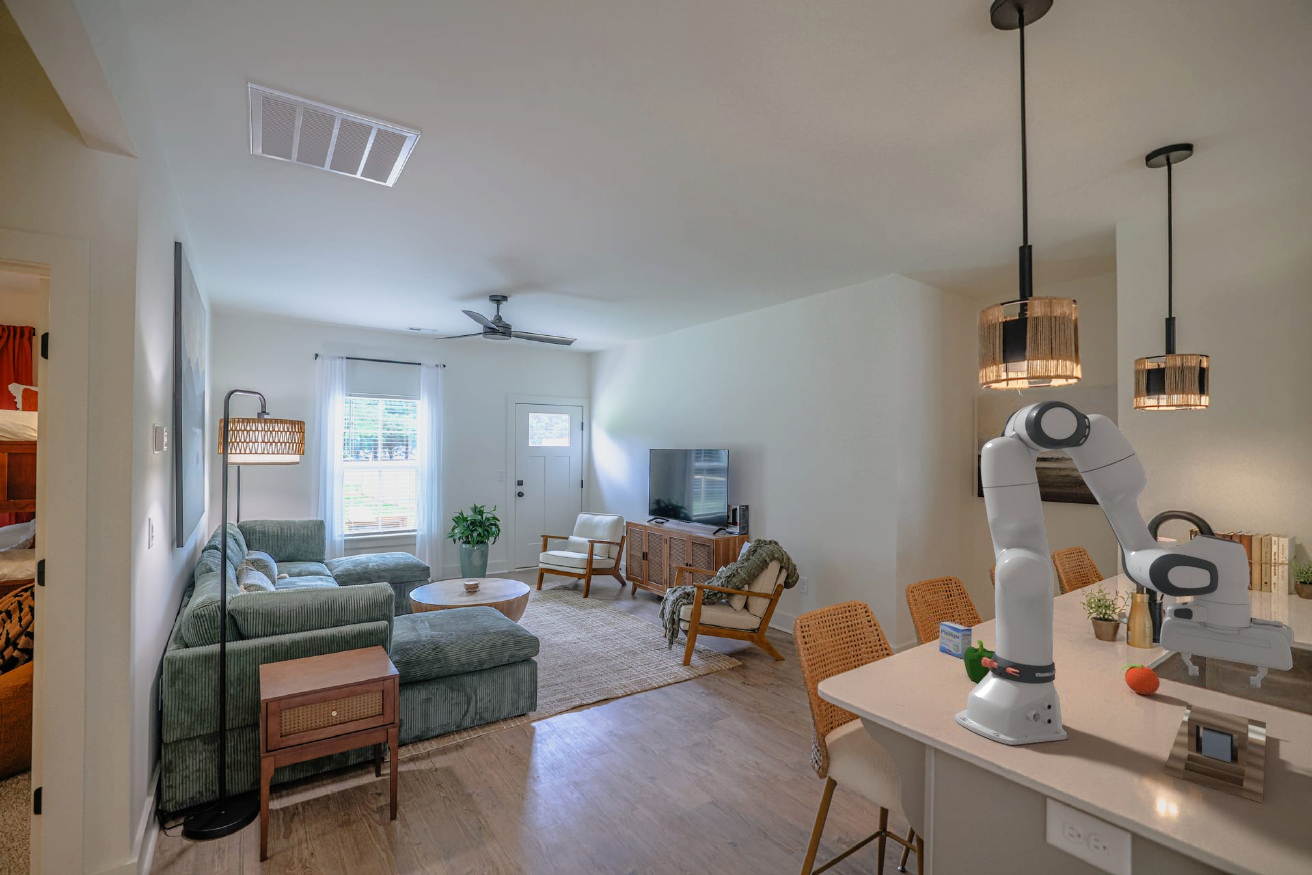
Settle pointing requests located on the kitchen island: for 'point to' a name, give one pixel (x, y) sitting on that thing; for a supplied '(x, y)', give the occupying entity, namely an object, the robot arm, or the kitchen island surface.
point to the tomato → (1141, 679)
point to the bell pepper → (976, 662)
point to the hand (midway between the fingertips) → (1223, 680)
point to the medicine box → (954, 639)
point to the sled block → (1217, 744)
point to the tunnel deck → (1226, 776)
